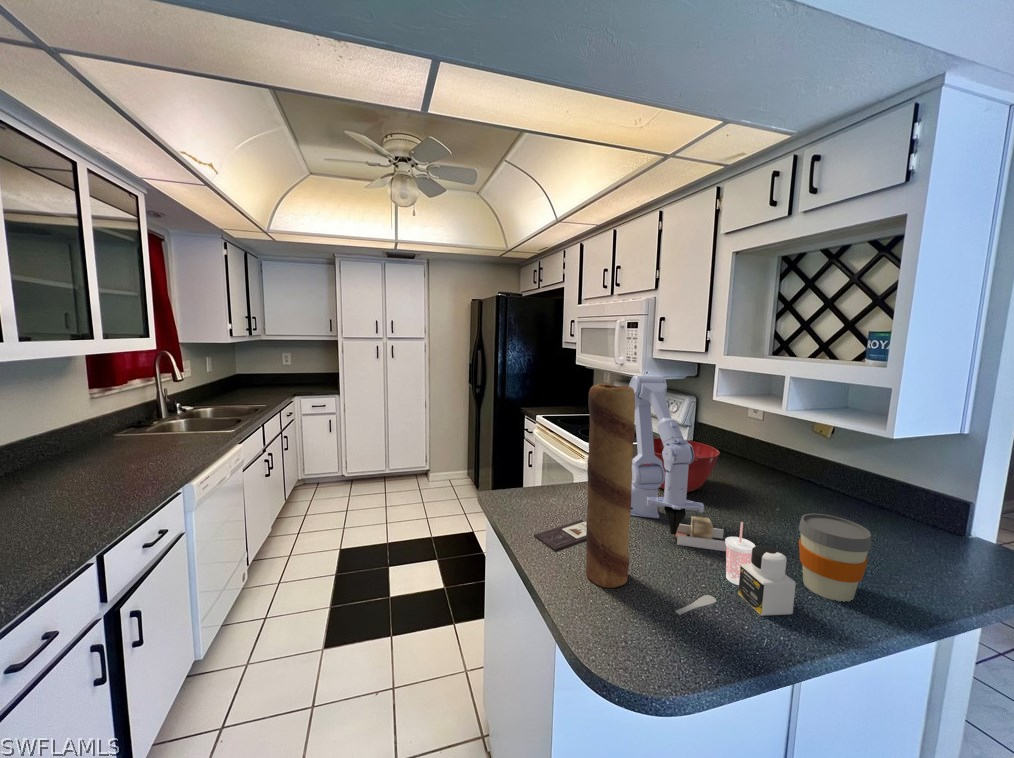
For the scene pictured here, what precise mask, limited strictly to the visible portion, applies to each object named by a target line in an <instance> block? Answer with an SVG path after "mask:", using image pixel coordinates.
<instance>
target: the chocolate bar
mask: <svg viewBox="0 0 1014 758" xmlns="http://www.w3.org/2000/svg"><path fill="white" fill-rule="evenodd" d="M586 531H587V521H584V520H582V519H581V520H577V521H574V522H571V523H567V524H565V525H561V526H558V527H556V528H551V529H549V530H548V529H547V530H546V531H543V532H539V533H536V534H533V537H534V538H535V539H536V540H538V541H539V542H541V543H542V544H543V545H545V546H546V547H548V548H549V549H551V550H552V551H553V552H557V551H560V550H563V549H566V548H569V547H571V546H574V545H577V544H579V543H583V542H586Z"/></svg>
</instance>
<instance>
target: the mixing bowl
mask: <svg viewBox="0 0 1014 758" xmlns="http://www.w3.org/2000/svg"><path fill="white" fill-rule="evenodd" d="M686 440H687V439H686ZM653 442H654V455H655V456H656V457H658V458H659V459H660V460H661V461H662V464H663V468H664V459H663V455H662V451H663V449H664V446H663V443H662V440H661V437H655V438H654V437H653ZM687 442H688V443H689V444H690V445H691V446H692V447H693V451H694V460H693V462H692V463H691V464H689V468H688V482H687V493H690V492H693V491H695V490H698V489H699V488H701V487H702V486H703V485H704V483H706V481H707V479H708V478H709V477H710V475H711V473H712V471H713V469H714V467H715V465H716V462H717V460H718V456H720V455H721V454H720V451H719V449H717V448H715V447H713V446H711V445H708V444H706V443H705V444H704V443H701V442H697V441H692V440H687ZM642 465H653V464H642ZM664 471H665V474H666V469H665V468H664ZM659 488H660V489H663V490H665V481H664V483H663V484H661V487H659Z"/></svg>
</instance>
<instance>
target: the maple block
mask: <svg viewBox="0 0 1014 758" xmlns="http://www.w3.org/2000/svg"><path fill="white" fill-rule="evenodd" d="M690 518H691V519H690V520H691V521H690V525H691V531H690V534H689V536H690V537H698V538H705V539H713V537H712V531H713V528H714V525H713V523H712V521H711V520H710V517H701V516H695V515H694V516H692V515H691V517H690Z"/></svg>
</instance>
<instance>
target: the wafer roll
mask: <svg viewBox="0 0 1014 758" xmlns="http://www.w3.org/2000/svg"><path fill="white" fill-rule="evenodd" d="M587 400H588V403H587V404H588V410H589V411H588V412H589V431H588V437H589V438H588V457H587V469H586V470H587V474H586V475H587V509H586V511H587V512H586V514H587V515H586V523H587V531H586V540H585V542H586V548H585V549H586V556H585V557H586V559H585V560H586V561H585V562H586V564H585V565H586V567H585V574H586V578H587V579H588V580H589V581H591V582H592V583H593V584H594V585H596V586H599V587H600V588H604V589H615V588H619V587H621V586H624V585H626V583H627V582H628V577H629V575H628V574H629V573H628V572H629V566H630V553H629V551H630V550H629V546H630V541H629V540H630V538H629V534H630V520H631V516H632V515H631V491H632V459H633V451H634V439H635V436H636V435H635V433H636V429H635V423H636V422H635V393H634V390H633V388H631V387H629V385H618V386H617V385H615V384H609V383H597V384H595V385H592V386H591V387H590V388H589V391H588V399H587Z"/></svg>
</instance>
